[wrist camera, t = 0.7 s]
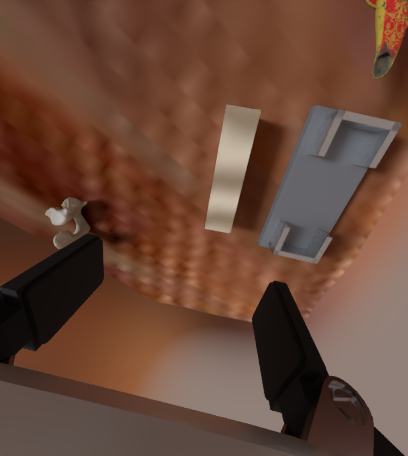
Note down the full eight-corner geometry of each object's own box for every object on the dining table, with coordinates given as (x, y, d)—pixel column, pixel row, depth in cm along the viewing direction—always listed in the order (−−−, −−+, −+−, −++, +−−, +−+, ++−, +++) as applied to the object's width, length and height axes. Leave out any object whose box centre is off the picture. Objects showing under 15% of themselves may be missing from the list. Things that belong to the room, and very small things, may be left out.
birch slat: (225, 112, 24) (226, 104, 20) (254, 117, 24) (261, 110, 20) (207, 216, 31) (204, 228, 27) (229, 220, 31) (230, 233, 27)
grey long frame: (324, 114, 22) (339, 109, 19) (380, 126, 22) (402, 123, 19) (268, 244, 30) (272, 253, 28) (308, 253, 30) (316, 263, 28)
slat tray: (311, 107, 23) (316, 104, 22) (384, 124, 23) (395, 122, 22) (257, 241, 32) (259, 245, 31) (310, 253, 32) (314, 258, 31)
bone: (45, 182, 30) (24, 212, 22) (90, 188, 33) (84, 215, 26) (52, 224, 34) (36, 260, 27) (91, 225, 37) (86, 258, 30)
